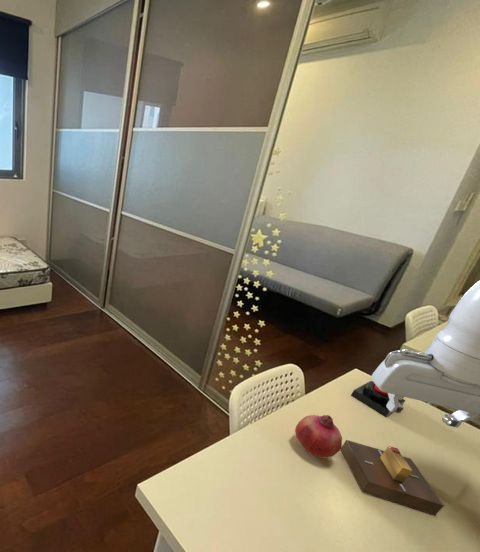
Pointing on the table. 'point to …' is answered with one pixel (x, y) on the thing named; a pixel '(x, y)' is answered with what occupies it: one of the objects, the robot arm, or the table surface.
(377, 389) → the bell button
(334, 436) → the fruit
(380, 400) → the bell block
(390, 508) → the table surface
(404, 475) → the block
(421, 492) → the plate
